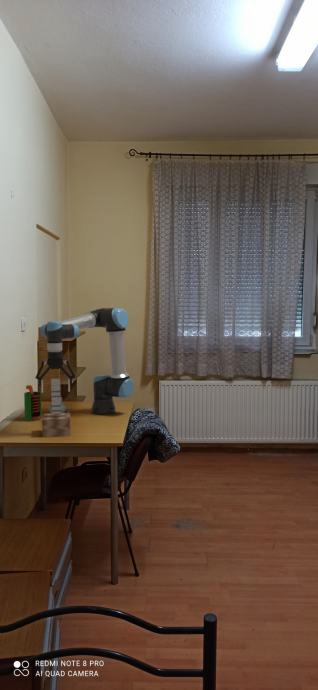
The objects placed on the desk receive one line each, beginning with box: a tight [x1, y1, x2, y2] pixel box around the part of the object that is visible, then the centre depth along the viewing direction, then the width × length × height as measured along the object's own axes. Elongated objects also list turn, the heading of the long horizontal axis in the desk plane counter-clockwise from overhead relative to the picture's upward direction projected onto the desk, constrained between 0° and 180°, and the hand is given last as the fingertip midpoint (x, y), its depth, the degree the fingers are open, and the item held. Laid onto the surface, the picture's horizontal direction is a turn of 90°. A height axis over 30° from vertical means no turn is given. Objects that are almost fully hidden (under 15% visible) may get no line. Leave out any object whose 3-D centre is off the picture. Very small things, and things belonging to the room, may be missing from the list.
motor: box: [23, 384, 42, 422], centre depth 301 cm, size 10×9×20 cm
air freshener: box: [48, 396, 68, 414], centre depth 317 cm, size 11×8×10 cm
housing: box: [41, 412, 71, 438], centre depth 269 cm, size 14×14×10 cm
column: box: [50, 378, 62, 417], centre depth 268 cm, size 5×5×20 cm
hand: (55, 391), depth 268 cm, fingers open, 13 cm apart
